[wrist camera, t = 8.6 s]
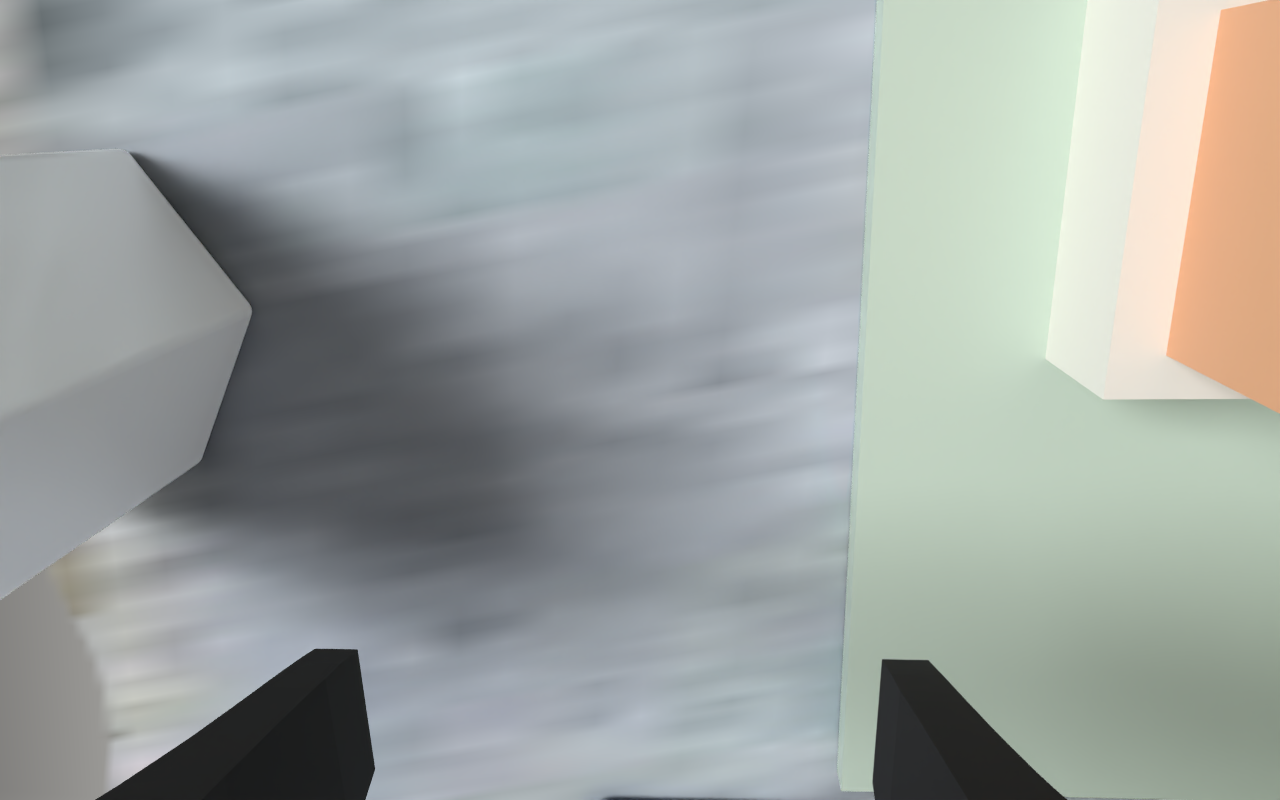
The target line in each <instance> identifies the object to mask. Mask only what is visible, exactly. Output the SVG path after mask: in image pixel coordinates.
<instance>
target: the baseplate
mask: <svg viewBox="0 0 1280 800" xmlns="http://www.w3.org/2000/svg"><path fill="white" fill-rule="evenodd" d="M1086 8H1087V0H877V3H876V22H875V42H874V61H873V81H872V100H871V119H870V139H869V158H868V178H867V197H866V216H865V236H864V255H863V275H862V294H861V314H860V333H859V352H858V372H857V391H856V411H855V430H854V449H853V469H852V488H851V508H850V527H849V547H848V566H847V585H846V605H845V624H844V644H843V663H842V682H841V702H840V721H839V741H838V760H837V773H838V777H839V782H840V787H841V791H857V792H874V790H873V784H872V780H873V767H874V754H875V741H876V729H877V716H878V703H879V690H880V678H881V665H882V659H898V660H929V661H930V662H931V663H932V664H933V665H934V666H935V667H936V669H937V670H938V671H939V672H940V673H941V674H942V675H943V676H944V677H945V678H946V679H947V680H948V681H949V682H950V683H951V684H952V685H953V687H954V688H955V689H956V690H957V691H958V692H959V693H960V694H961V695H962V696H963V697H964V698H965V699H966V701H967V702H968V703H969V704H970V705H971V706H972V707H973V708H974V709H975V710H976V711H977V712H978V713H979V714H980V715H981V716H982V717H983V719H984V720H985V721H986V722H987V723H988V724H989V725H990V726H991V727H992V728H993V729H994V730H995V731H996V732H997V733H998V734H999V735H1000V736H1001V737H1002V738H1003V739H1004V740H1005V741H1006V742H1007V743H1008V744H1009V745H1010V746H1011V747H1012V748H1013V749H1014V750H1015V751H1016V752H1017V753H1018V754H1019V755H1020V756H1021V757H1022V758H1023V759H1024V760H1025V761H1026V762H1027V763H1028V764H1029V765H1030V766H1031V767H1032V768H1033V769H1034V770H1035V771H1036V772H1037V773H1038V774H1039V775H1040V776H1042V777H1043V778H1044V779H1045V780H1046V781H1047V782H1048V783H1049V784H1050V785H1051V786H1052V787H1053V788H1054V789H1056V790H1057V791H1058V792H1059V793H1060V794H1061V795H1062V796H1064V797H1084V798H1122V799H1159V800H1280V414H1279V413H1277V412H1275V411H1273V410H1271V409H1270V408H1268V407H1266V406H1264V405H1262V404H1260V403H1258V402H1256V401H1254V400H1252V399H1112V400H1103V399H1102V398H1100V397H1099V396H1097V395H1096V394H1094V393H1093V392H1092V391H1090V390H1089V389H1087V388H1086V387H1084V386H1083V385H1082V384H1080V383H1079V382H1077V381H1076V380H1075V379H1073V378H1072V377H1070V376H1069V375H1067V374H1066V373H1065V372H1063V371H1062V370H1060V369H1059V368H1057V367H1056V366H1055V365H1053V364H1052V363H1050V362H1049V361H1047V360H1046V359H1045V357H1046V349H1047V340H1048V332H1049V323H1050V315H1051V306H1052V298H1053V289H1054V281H1055V272H1056V264H1057V255H1058V247H1059V238H1060V230H1061V221H1062V213H1063V204H1064V196H1065V187H1066V179H1067V170H1068V162H1069V153H1070V145H1071V136H1072V128H1073V119H1074V110H1075V102H1076V93H1077V85H1078V76H1079V68H1080V59H1081V51H1082V42H1083V34H1084V25H1085V17H1086Z"/></svg>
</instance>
